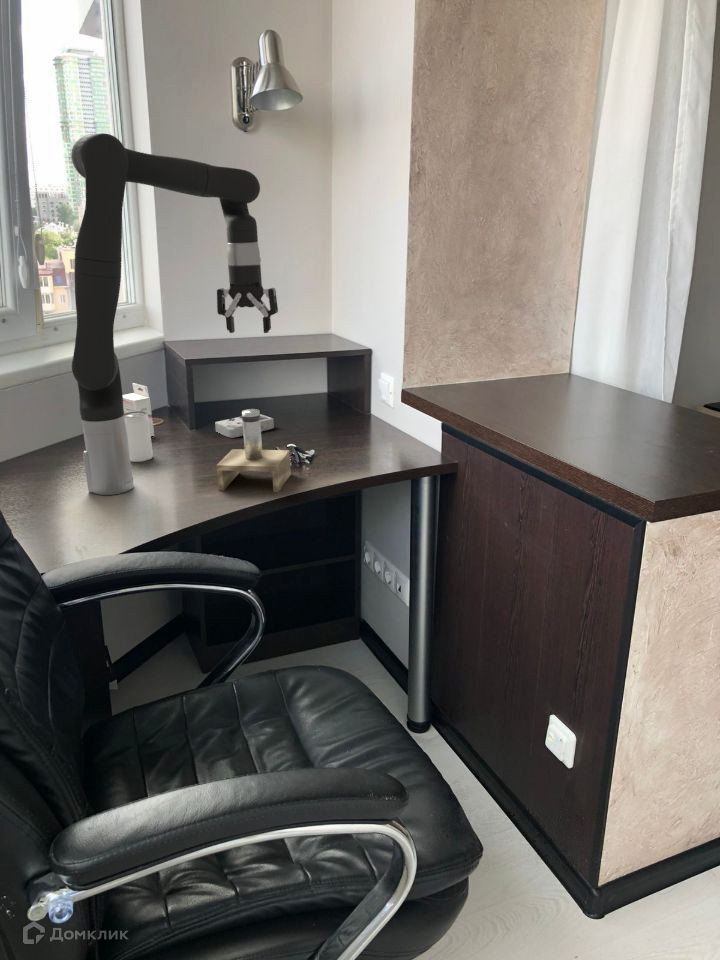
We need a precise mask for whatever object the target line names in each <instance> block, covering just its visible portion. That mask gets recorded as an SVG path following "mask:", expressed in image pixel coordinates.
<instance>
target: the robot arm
mask: <svg viewBox="0 0 720 960" xmlns="http://www.w3.org/2000/svg"><path fill="white" fill-rule="evenodd" d="M70 158H71V162H72V165H73V167H74V169H75V170H76V172H77V173H78V174H79V175H80V176H81V177H82V178H84V180H85V181H84V182H85V207H84V212H83V216H82V220H81V223H80V227H79V230H78V233H77V238H76V242H75V249H74V270H73V271H74V272H73V273H74V274H73V275H74V297H75V311H76V330H75V331H76V332H75V333H76V335H75V342H74V343H75V344H74V349H73V356H72V361H71V372H72V374H73V377H74V379H75V380H76V382H77V388H78V389H77V390H78V395H79V397H78V398H79V399H78V400H79V412H80V420H81V427H82V432H83V438H84V445H85V450H84V451H82V457H83V459H82V460H83V465H84V471H85V477H86V484H87V485H86V486H87V491H88V493H93V494H95V495H100V496H110V495H111V496H112V495H119V494H123V493H126V492H128V491H131V490H132V489H133V488H134V487H135V485H134V476H133V469H132V462H131V460H130V453H129V445H128V438H127V431H126V423H125V416H124V408H123V395H124V394H123V386H122V379H121V371H120V365H119V359H118V356H117V355H116V352H115V345H114V327H115V326H114V324H115V317H116V314H117V309H118V303H119V298H120V291H121V281H122V280H121V279H122V258H123V257H122V243H123V206H124V198H125V189H126V184H127V183H134V184H140V185H144V186H145V185H146V186H151V187H154V188H160V189H164V190H168V191H172V192H175V193H180V194H185V195H190V196H196V197H201V198H218V199H219V203H220V207H221V211H222V215H223V218H224V220H225V226H226V239H227V240H226V242H227V253H226V254H227V256H226V257H227V266H228V281H229V288H228V289H227V288H223V287H220V288H218V289H217V290H216V304H217V305H216V306H217V307H216V308H217V314H218V315H219V316H220V315H221V316H223V317H225V322H226V323H225V326H226V330H227V332H228V333H229V334H234V333H235V331H236V330H235V319H234V318H235V317H234V316H233V315H234V313H235V312H236V310H237V309H238V308H245V307H247V308H254V307H255V308H256V309H257V310H258V311H259V312H260V313H261V314H262V315H263V317H262V326H263V333H264V334H268V333H270V330H272V325H271V323H272V321H271V317H272V316H273V315H275V314H277V313H279V309H278V308H279V307H278V299H277V291H276V288H275V287H270V288H264V287H263V283H262V282H263V281H262V280H263V279H262V268H261V265H262V264H261V261H262V260H261V259H262V258H261V252H260V247H259V242H258V241H259V240H258V239H259V238H258V237H259V236H258V235H259V234H258V225H257V221H256V218H255V217H254V216H252V215H251V214H250V212H249V205H248V204H250V203H253V202H254V201H255V200H256V199H257V198H258V197H259V195H260V192H261V184H260V182H259V179H258V178H257V176H256V175H255V174H254V173H252V172H250V171H248V170H246V169H241V168H235V167H227V166H226V167H225V166H219V165H218V166H217V165H212V164H208V163H206V162H201V161H196V160H192V159H187V158H183V157H176V156H167V155H161V154H160V155H159V154H153V153H152V154H151V153H146V152H140V151H137V150H133V149H130V148H126V147H125V145H124V144H123V143H122V142H121V141H120V140H119V139H118V138H117V137H116V136H114V135H112V134H109V133H105V132H103V133H97V132H95V133H89V134H88V133H87V134H86V135H83V136H81V137H80V138H78V139H77V140H76V141H75V142H74V144H73V145H72V148H71V152H70ZM228 296H229V297H230V298H231V300H232V301H231V302H230V305H229V306H228V308H227V309H226V298H227V297H228ZM263 296H266V298H268V303H269V309H268V307H267V306H266V304H265V302H264V301H263V300H262V298H263Z"/></svg>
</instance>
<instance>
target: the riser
mask: <svg viewBox="0 0 720 960" xmlns="http://www.w3.org/2000/svg"><path fill="white" fill-rule="evenodd" d="M262 454H263V458H261V459H258V460H247V459H245V448H243V449H241V448H240V449H239V448H238V449H236V448H235V449H234V448H232V449H230V451H229V452H228V453H227V454H226V455H225V456H224V457H223V458H222V459H221V460H220V461H219V462H218V463H217V464H216V474H217V475H216V477H217V486H218V491H225V490H226V489H227V488H228V487H229V485H230V484H231V483H232V481H234V479H235V478H236V477H237V476H238V475H239V474H240V472H271V474H272V490H273V492H274V493H280V491H281V490H282V488H283V486H284V485H285V484H286V482H287V480H288V479H289V478H290V476H291V474H292V471H291V455H290V454H291V453H290V450H289V449H288V450H287V449H285V450H284V449H262Z"/></svg>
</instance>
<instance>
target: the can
mask: <svg viewBox="0 0 720 960" xmlns="http://www.w3.org/2000/svg"><path fill="white" fill-rule="evenodd" d="M124 416H125V423H126V431H127V438H128V445H129V453H130V460H131V463H144V462H148V461H150V460H151V459H152V458H153V457H154V452H153V444H152V438H151V435H150V427H149V420H148V417H147V416H146V412H143V411H133V412H128V413H125V414H124Z"/></svg>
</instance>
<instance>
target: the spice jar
mask: <svg viewBox="0 0 720 960" xmlns="http://www.w3.org/2000/svg"><path fill="white" fill-rule="evenodd" d="M260 414H261V413H260V410H259V409H257V408H256V409H255V408H248V409H243V410H242V411H241V417H242V422H243V435H244V436H243V444H244V445H243V447H244V448H243V449H245V459H247V460H258V459H261V458H263V454H262V450H263V442H262V439H263V438H262V431H261V425H260Z"/></svg>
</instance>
